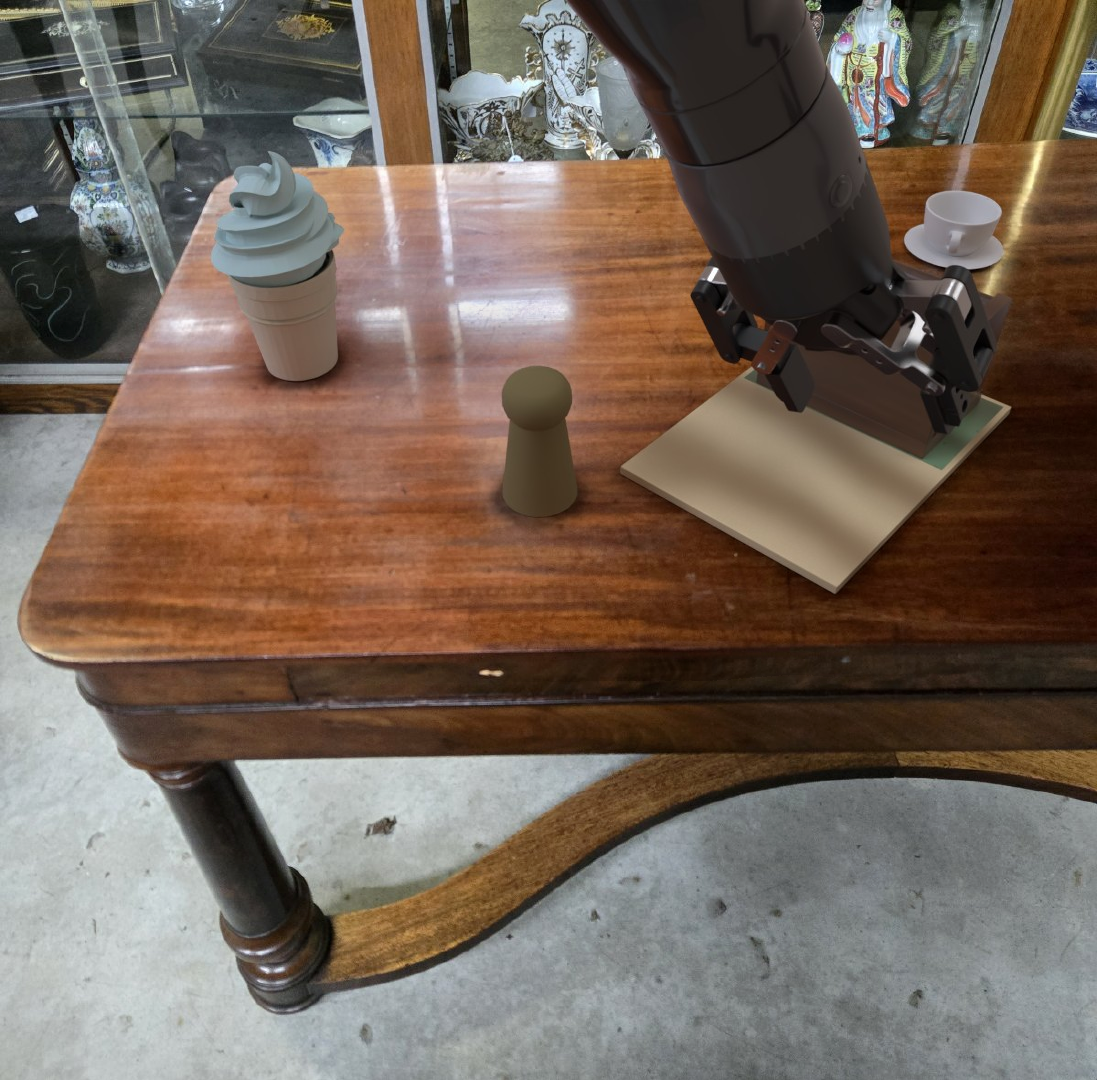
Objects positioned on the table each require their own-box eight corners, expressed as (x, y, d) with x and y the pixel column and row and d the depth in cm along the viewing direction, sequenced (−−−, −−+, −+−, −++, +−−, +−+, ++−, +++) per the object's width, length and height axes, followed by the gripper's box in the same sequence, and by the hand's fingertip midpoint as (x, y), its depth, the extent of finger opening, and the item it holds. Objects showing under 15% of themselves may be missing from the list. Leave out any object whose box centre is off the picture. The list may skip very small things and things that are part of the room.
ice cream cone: (247, 336, 99) (194, 129, 85) (364, 328, 100) (330, 122, 86) (235, 399, 92) (174, 185, 78) (361, 390, 93) (323, 176, 79)
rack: (922, 459, 83) (959, 338, 75) (755, 382, 91) (773, 264, 83) (979, 402, 89) (1019, 283, 81) (817, 334, 96) (839, 219, 88)
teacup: (909, 219, 114) (919, 178, 110) (1005, 234, 111) (1018, 193, 108) (896, 263, 107) (907, 221, 104) (998, 280, 104) (1012, 237, 101)
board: (835, 594, 74) (837, 586, 74) (619, 473, 84) (620, 466, 84) (1009, 414, 89) (1011, 406, 88) (808, 329, 99) (809, 321, 98)
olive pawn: (509, 522, 80) (502, 408, 72) (496, 472, 84) (488, 359, 77) (585, 510, 81) (586, 396, 73) (568, 461, 85) (568, 349, 78)
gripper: (972, 116, 41) (1032, 369, 53) (680, 130, 51) (786, 343, 62) (900, 259, 39) (978, 490, 51) (609, 248, 49) (732, 445, 60)
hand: (872, 409), depth 57 cm, fingers open, 8 cm apart
